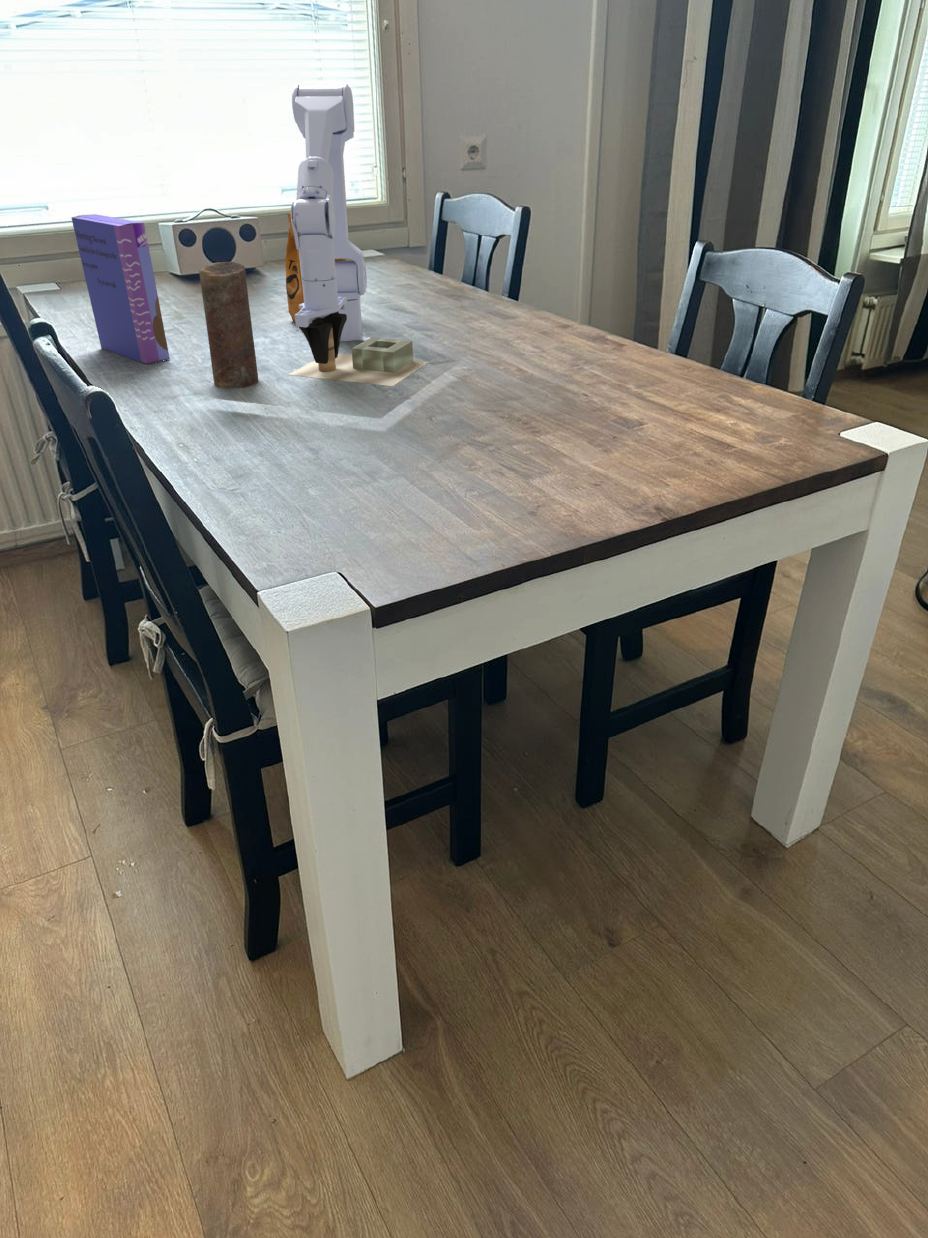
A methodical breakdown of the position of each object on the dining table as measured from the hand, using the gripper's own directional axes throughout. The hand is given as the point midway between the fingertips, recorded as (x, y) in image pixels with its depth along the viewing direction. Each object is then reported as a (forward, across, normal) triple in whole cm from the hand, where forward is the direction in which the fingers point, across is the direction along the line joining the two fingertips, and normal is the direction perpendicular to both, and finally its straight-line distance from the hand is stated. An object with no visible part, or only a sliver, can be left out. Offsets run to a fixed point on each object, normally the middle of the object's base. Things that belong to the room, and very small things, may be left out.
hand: (326, 360), depth 152 cm
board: (+3, -2, +5) cm, 6 cm away
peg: (+2, 0, 0) cm, 2 cm away
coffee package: (+3, -36, -22) cm, 43 cm away
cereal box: (+3, -2, -43) cm, 43 cm away
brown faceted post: (+3, +12, -11) cm, 16 cm away
